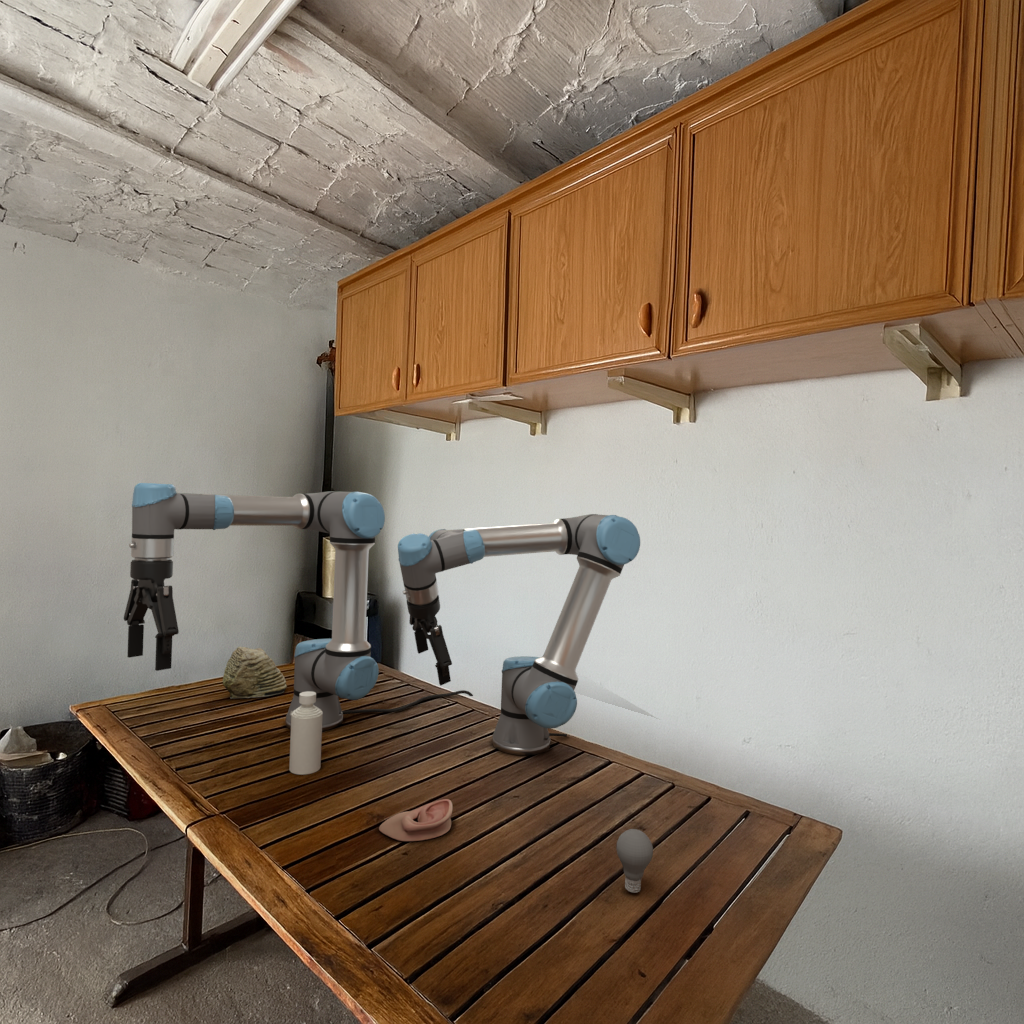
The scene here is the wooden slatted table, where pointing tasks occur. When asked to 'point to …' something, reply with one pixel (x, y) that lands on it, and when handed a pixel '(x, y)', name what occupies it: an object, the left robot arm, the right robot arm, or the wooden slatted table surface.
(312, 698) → the cap
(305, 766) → the bottle
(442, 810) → the anatomical model
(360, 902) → the wooden slatted table surface
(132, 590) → the left robot arm
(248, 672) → the fossil
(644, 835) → the light bulb
